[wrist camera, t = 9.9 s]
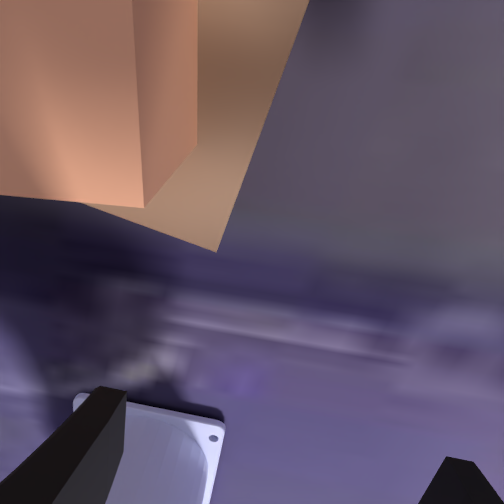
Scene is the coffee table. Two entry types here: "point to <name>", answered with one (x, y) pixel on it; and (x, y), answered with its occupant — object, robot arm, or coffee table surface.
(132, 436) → the robot arm
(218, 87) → the walnut block
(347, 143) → the coffee table surface
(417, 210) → the coffee table surface
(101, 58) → the terracotta cube
